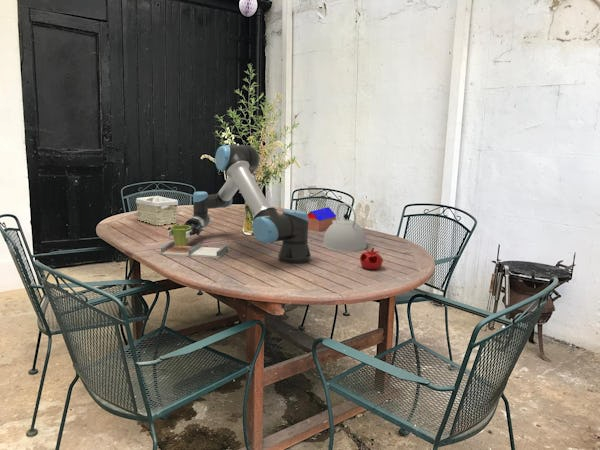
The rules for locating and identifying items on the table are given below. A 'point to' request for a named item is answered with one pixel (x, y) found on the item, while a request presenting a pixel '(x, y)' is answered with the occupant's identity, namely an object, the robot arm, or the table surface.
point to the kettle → (345, 234)
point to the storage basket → (157, 210)
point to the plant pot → (180, 234)
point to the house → (320, 219)
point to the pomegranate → (371, 260)
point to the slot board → (193, 250)
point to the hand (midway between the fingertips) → (177, 234)
